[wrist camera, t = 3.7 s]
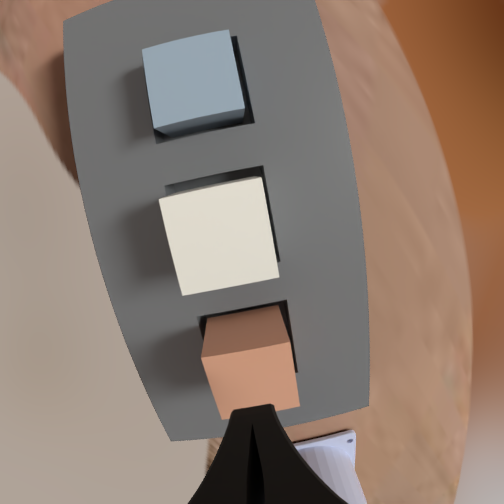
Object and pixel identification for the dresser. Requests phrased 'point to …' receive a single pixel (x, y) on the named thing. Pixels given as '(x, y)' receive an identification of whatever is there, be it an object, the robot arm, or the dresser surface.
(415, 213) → the dresser surface
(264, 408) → the robot arm
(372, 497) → the dresser surface
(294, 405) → the terracotta key
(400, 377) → the dresser surface
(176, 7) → the key panel
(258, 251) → the white key
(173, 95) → the blue key
